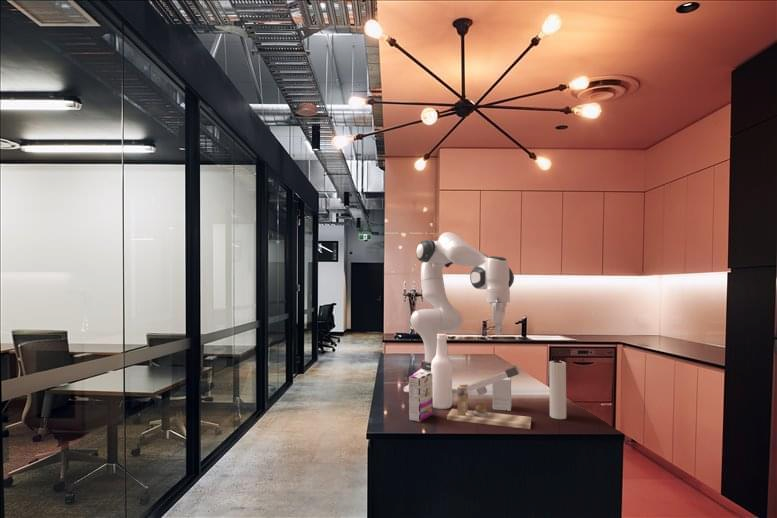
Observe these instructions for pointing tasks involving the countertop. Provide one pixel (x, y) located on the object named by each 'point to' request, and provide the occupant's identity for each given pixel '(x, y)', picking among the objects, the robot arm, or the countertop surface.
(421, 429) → the countertop surface
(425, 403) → the candy bar box
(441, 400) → the alcohol
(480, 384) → the lever
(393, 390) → the countertop surface
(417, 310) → the robot arm
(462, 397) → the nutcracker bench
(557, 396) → the paper towel roll
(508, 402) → the supplement box
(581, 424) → the countertop surface
